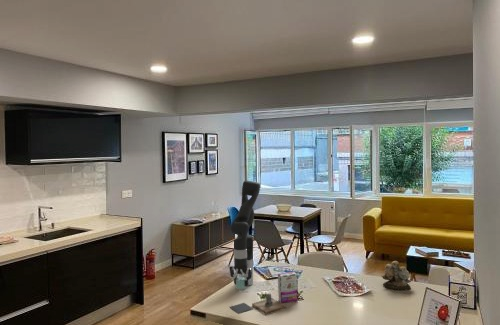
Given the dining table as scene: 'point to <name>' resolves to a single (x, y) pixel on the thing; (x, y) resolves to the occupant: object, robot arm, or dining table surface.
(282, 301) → the candy bar box
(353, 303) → the dining table surface
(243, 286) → the cap
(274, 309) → the post base
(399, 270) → the owl figurine
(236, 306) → the mat
